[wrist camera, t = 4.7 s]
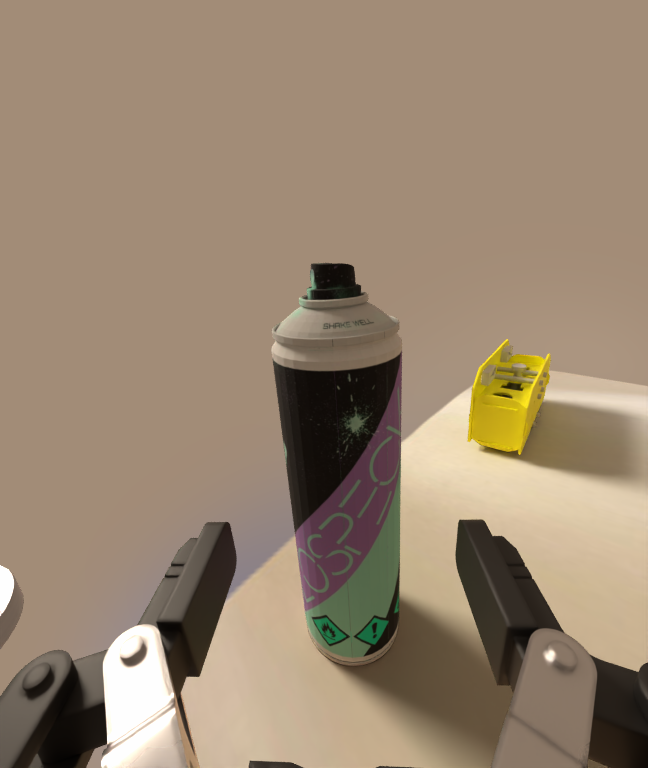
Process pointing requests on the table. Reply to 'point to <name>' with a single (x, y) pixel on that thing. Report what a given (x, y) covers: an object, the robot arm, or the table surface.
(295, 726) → the table surface
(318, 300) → the spray can
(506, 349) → the yellow toy chassis
